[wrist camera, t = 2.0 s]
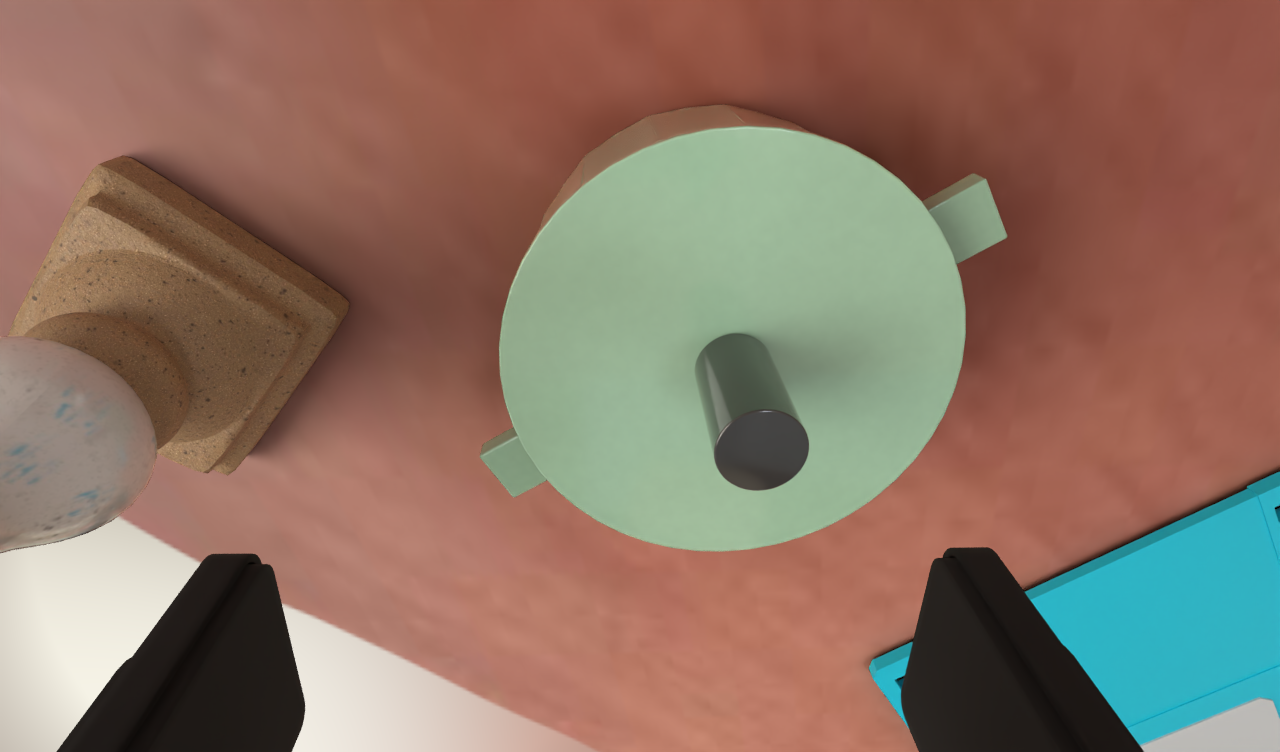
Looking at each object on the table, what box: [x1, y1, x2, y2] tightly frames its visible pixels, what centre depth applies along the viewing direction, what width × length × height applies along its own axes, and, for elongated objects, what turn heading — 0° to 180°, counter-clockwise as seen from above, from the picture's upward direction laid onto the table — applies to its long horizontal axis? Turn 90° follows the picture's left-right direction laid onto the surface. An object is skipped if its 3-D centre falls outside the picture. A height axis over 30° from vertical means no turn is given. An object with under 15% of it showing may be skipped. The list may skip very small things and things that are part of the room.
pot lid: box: [499, 124, 966, 551], centre depth 25 cm, size 17×17×7 cm
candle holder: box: [0, 156, 349, 553], centre depth 24 cm, size 11×11×24 cm
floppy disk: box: [869, 471, 1280, 752], centre depth 48 cm, size 26×28×1 cm
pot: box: [480, 104, 1007, 497], centre depth 31 cm, size 16×21×8 cm
